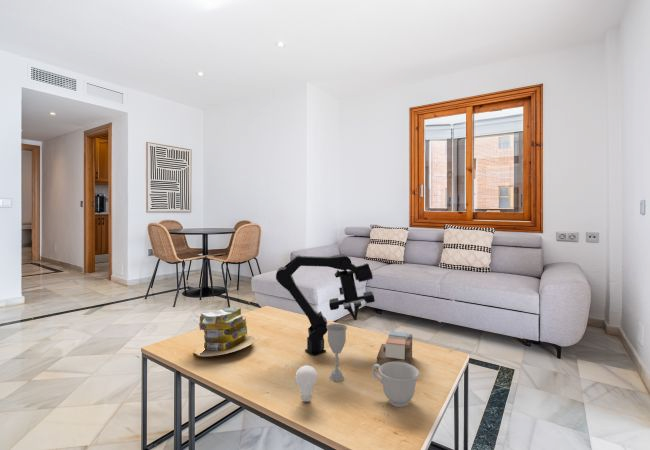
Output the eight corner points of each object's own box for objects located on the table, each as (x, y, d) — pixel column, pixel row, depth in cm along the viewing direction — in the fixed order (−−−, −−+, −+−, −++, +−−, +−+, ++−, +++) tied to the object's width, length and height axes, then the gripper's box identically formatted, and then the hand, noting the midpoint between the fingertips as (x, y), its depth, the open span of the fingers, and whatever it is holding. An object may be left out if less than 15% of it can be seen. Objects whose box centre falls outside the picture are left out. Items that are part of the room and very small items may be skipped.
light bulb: (295, 396, 108) (295, 362, 107) (316, 395, 108) (316, 361, 108) (295, 408, 101) (295, 372, 101) (317, 407, 102) (317, 371, 101)
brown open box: (376, 367, 127) (376, 342, 127) (381, 353, 139) (382, 330, 139) (409, 372, 123) (410, 346, 123) (412, 357, 136) (412, 333, 135)
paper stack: (181, 352, 140) (180, 313, 140) (228, 334, 161) (227, 299, 160) (221, 368, 127) (220, 324, 126) (267, 345, 148) (266, 307, 147)
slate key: (388, 348, 134) (388, 334, 133) (389, 344, 138) (389, 330, 138) (406, 350, 132) (406, 336, 131) (407, 346, 136) (407, 332, 136)
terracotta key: (385, 356, 126) (385, 342, 126) (387, 352, 130) (387, 337, 130) (404, 359, 124) (404, 344, 124) (405, 354, 128) (405, 340, 128)
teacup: (380, 385, 114) (380, 355, 114) (424, 399, 106) (424, 367, 105) (363, 401, 104) (363, 369, 104) (410, 418, 96) (410, 384, 95)
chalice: (349, 374, 121) (349, 325, 121) (344, 384, 115) (344, 331, 114) (329, 371, 124) (329, 322, 123) (323, 380, 117) (323, 329, 117)
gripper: (368, 274, 149) (374, 308, 151) (326, 283, 150) (333, 316, 152) (371, 282, 138) (378, 318, 140) (326, 291, 139) (333, 327, 141)
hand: (355, 319), depth 144 cm, fingers closed
